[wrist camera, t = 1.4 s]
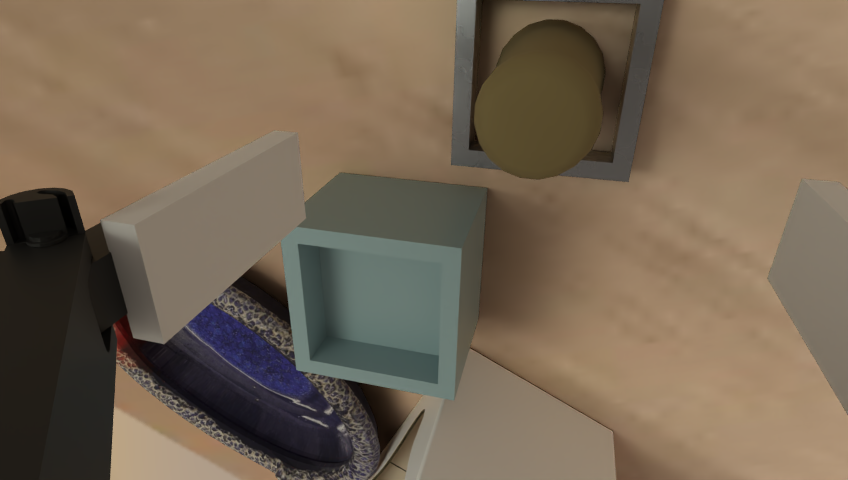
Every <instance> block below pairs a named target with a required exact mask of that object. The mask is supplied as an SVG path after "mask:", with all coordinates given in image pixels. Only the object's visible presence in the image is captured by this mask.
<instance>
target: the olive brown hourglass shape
mask: <svg viewBox="0 0 848 480" xmlns="http://www.w3.org/2000/svg"><path fill="white" fill-rule="evenodd" d="M604 77H605V66H604V60H603V54H602V52H601V50H600V48H599V47H598V45H597V43H596V41H595V39H594V38H593V37H592V36H591V35H590V34H589V33H587V32H586V31H585V30H584V29H583V28H582V27H580V26H578V25H575V24H573V23H570V22H568V21H565V20H543V21H540V22H536V23H533V24H529V25H528V26H526V27H525V28H523V29H522V30H520V31H519V32H517V33H516V34H515V35H514V36H513V37H512V38H511V39H510V41H509V42H508V43H507V44H506V46H505V47H504V48H503V50H502V52H501V55H500V57H499V60H498V62H497V65H496V69H495V70H494V71H493V72H492V73H491V75H490V76H489V77H488V78H487V80H486V81H485V82H484V83H483V85H482V87H481V89H480V92H479V95H478V97H477V100H476V102H475V113H474V125H475V129H476V133H477V137H478V140H479V144H480V145H481V147H482V148H483V150H484V152H485V153H486V155H487V156H488V158H489V159H490V160H491V161H492V162H493V163H495V164H496V165H497V166H498V167H499V168H501V169H502V170H503V171H505V172H508V173H510V174H512V175H515V176H517V177H520V178H529V179H543V178H549V177H554V176H558V175H560V174H561V173H563V172H565V171H567V170H569V169H571V168H573V167H574V166H576V165H577V164H578V163H579V162H580V161H581V160H582V159H583V158H584V157H585V156H586V155H587V154H588V153H589V152H590V151H591V149H592V147H593V145H594V143H595V141H596V139H597V137H598V136H599V134H600V129H601V123H602V117H603V109H602V103H601V97H600V93H601V91H602V89H603V83H604Z"/></svg>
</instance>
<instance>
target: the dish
mask: <svg viewBox="0 0 848 480" xmlns="http://www.w3.org/2000/svg"><path fill="white" fill-rule="evenodd" d="M113 327H114V330H115V334H116V337H117V356H116V363H117V364H118V365H119V366H120V367H121V368H122V369H123V370H124V371H125V372H126V373H127V374H128V375H130V376H131V377H132V378H133V379H134V380H135V381H136V382H138V383H139V384H140V385H141V386H142V387H144V388H145V389H146V390H147V391H148V392H149V393H151V394H152V395H153V396H155V397H156V398H157V399H158V400H160V401H161V402H162V403H164V404H165V405H166V406H167V407H169V408H170V409H172V410H173V411H174V412H176V413H177V414H178V415H180V416H181V417H183V418H184V419H185V420H187V421H188V422H190V423H191V424H193V425H194V426H196V427H197V428H199V429H200V430H202V431H203V432H205V433H206V434H208V435H210V436H211V437H213V438H214V439H216V440H218V441H219V442H221V443H223V444H224V445H226V446H228V447H229V448H231V449H233V450H235V451H237V452H238V453H240V454H242V455H244V456H245V457H247V458H249V459H251V460H253V461H254V462H256V463H258V464H260V465H261V466H263V467H265V468H267V469H269V470H270V471H272V472H274V473H275V476H276V478H277V479H278V480H368V479H370V478H371V477H372V475H373V474H374V473H375V472H376V469H377V466H378V463H379V459H380V445H379V441H378V433H377V425H376V422H375V418H374V415H373V413H372V410H371V408H370V406H369V404H368V402H367V400H366V398H365V395H364V393H363V391H362V390H361V388H360V386H359V385H358V383H357V382H355V381H350V380H345V379H340V378H334V377H329V376H324V375H319V374H314V373H309V372H303V371H298V370H296V362H295V354H294V345H293V337H292V329H291V321H290V312H289V310H288V309H287V308H286V307H284V306H283V305H282V304H281V303H279V302H278V301H276V300H275V299H274V298H272V297H271V296H269V295H268V294H267V293H265V292H264V291H263V290H261V289H259V288H258V287H256V286H255V285H253V284H252V283H250V282H249V281H247V280H246V279H244V278H243V277H239V278H238V279H237V280H236V281H235V282H234V283H233V284H232V285H230V286H229V287H228V288H227V289H226V290H225V291H224V292H223V293H221V294H220V295H219V296H218V297H217V298H216V299H215V300H213V301H212V302H211V303H210V304H209V305H208V306H207V307H206V308H204V309H203V310H202V311H201V312H200V313H199V314H198V315H197V316H195V317H194V318H193V319H192V320H191V321H190V322H189V323H188V324H186V325H185V326H184V327H183V328H182V329H181V330H180V331H179V332H177V333H176V334H175V335H174V336H173V337H172V338H171V339H169V340H168V341H167V342H166V343H165V344H161V343H156V342H151V341H146V340H141V339H136V338H133V335H132V332H131V328H130V325H129V321H128V317H127V314H126V315H125V316H124V317H122V318H121V319H120V320H118V321H117V322H116V323H114V324H113Z"/></svg>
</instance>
